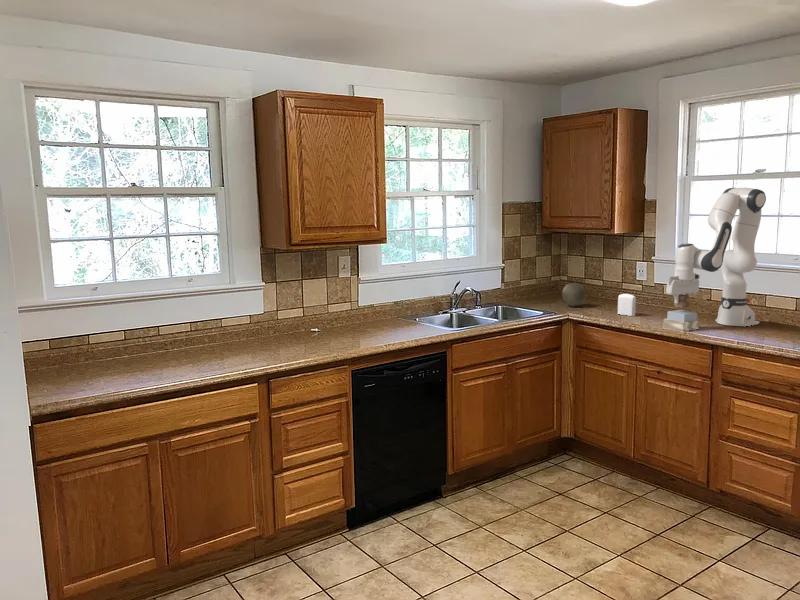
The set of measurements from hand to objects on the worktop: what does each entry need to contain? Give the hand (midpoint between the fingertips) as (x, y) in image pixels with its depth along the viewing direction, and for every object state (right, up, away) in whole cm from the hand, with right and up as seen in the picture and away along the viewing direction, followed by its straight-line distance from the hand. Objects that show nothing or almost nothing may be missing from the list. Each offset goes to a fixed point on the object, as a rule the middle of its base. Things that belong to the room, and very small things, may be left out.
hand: (681, 302), depth 328 cm
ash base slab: (0, -14, +1) cm, 14 cm away
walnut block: (0, -2, 0) cm, 2 cm away
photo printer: (-14, -8, +40) cm, 44 cm away
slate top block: (+1, -9, +1) cm, 9 cm away
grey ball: (-36, -3, +70) cm, 79 cm away
